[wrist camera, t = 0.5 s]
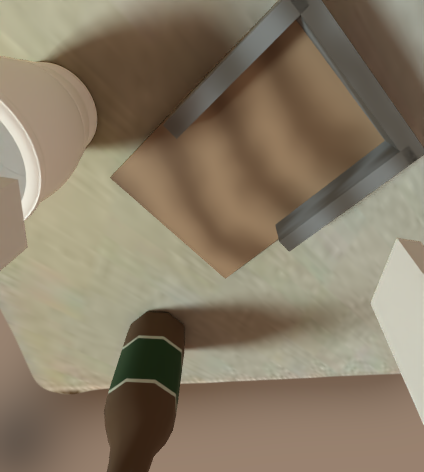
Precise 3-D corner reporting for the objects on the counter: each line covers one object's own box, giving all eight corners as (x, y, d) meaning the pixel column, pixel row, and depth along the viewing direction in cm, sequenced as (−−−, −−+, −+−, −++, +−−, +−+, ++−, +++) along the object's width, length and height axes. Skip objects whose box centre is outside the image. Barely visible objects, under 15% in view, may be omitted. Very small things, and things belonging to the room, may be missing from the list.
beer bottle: (145, 356, 51) (91, 580, 31) (119, 317, 48) (37, 540, 27) (196, 343, 50) (175, 570, 29) (173, 302, 46) (130, 526, 26)
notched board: (298, -22, 29) (309, -29, 25) (408, 135, 35) (431, 149, 31) (112, 174, 38) (99, 191, 34) (225, 273, 44) (225, 297, 40)
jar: (-26, 83, 34) (-181, 118, 21) (62, 25, 31) (-55, 24, 18) (48, 179, 39) (-42, 257, 26) (130, 135, 36) (75, 197, 23)
